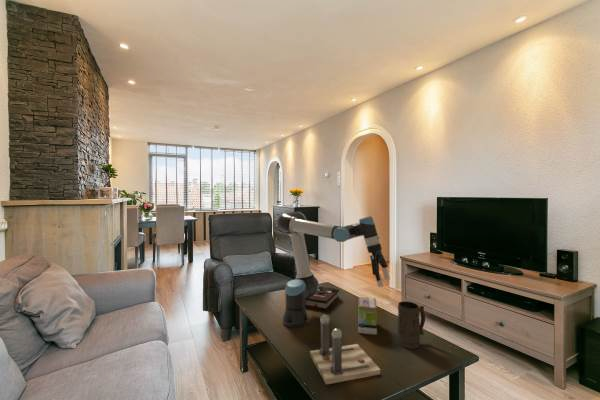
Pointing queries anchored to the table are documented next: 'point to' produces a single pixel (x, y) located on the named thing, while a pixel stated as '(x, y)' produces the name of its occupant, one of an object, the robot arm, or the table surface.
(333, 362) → the grey rounded post
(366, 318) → the tea box
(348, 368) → the switch panel
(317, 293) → the decorative book
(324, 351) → the grey lever
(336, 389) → the table surface
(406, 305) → the beer stein
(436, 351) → the table surface
